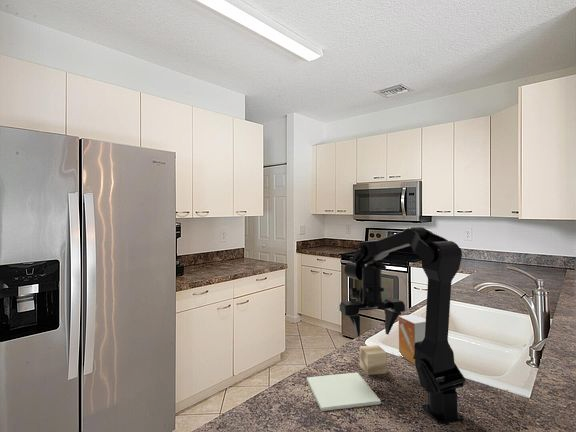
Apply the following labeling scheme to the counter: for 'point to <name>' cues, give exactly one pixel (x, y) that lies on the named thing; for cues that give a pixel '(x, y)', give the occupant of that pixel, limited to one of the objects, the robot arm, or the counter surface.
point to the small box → (410, 334)
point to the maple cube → (373, 359)
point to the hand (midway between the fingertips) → (372, 335)
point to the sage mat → (342, 391)
